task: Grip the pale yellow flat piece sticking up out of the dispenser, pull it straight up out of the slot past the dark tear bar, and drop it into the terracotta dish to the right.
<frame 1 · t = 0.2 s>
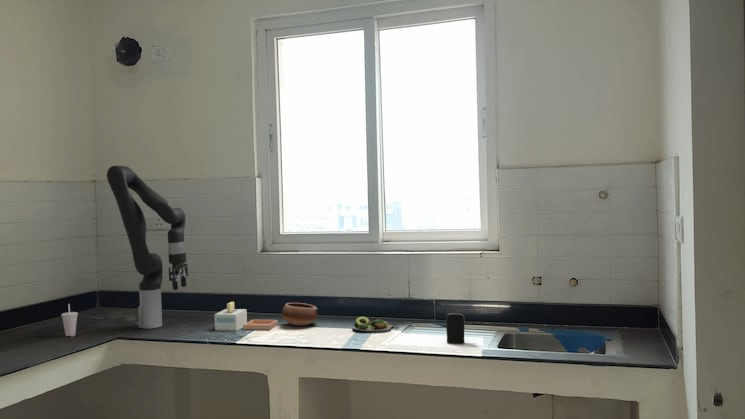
hand: (179, 288, 272), 18 cm above the counter, tool pointing down, fingers open, 8 cm apart
dish: (260, 327, 268), on the counter
bowl: (300, 325, 270), on the counter
pale yellow flat piece: (231, 322, 269), point 2 cm above the counter, touching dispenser
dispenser: (231, 327, 270), on the counter
battery: (455, 343, 233), on the counter
smoothie: (70, 336, 261), on the counter
salad plate: (371, 329, 261), on the counter
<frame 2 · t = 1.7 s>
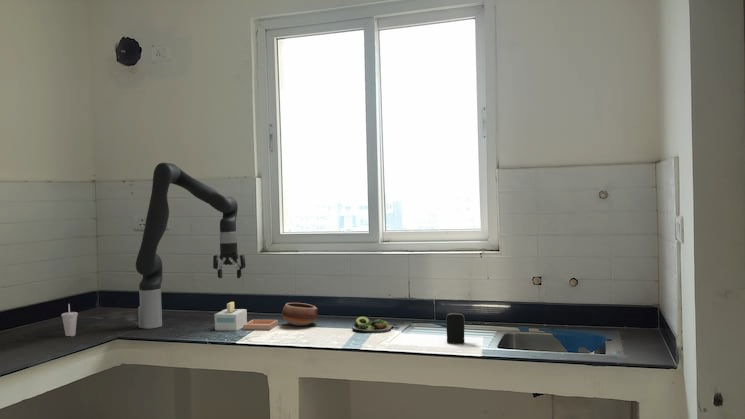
hand: (229, 278, 269), 22 cm above the counter, tool pointing down, fingers open, 8 cm apart
nothing on the counter moved.
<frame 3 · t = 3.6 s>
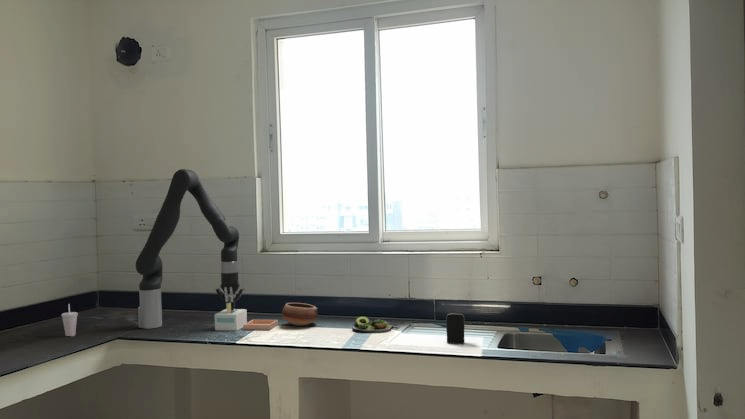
hand: (230, 309, 269), 8 cm above the counter, tool pointing down, fingers closed on pale yellow flat piece, 1 cm apart
pale yellow flat piece: (230, 322, 269), point 2 cm above the counter, touching gripper
everything else where it was.
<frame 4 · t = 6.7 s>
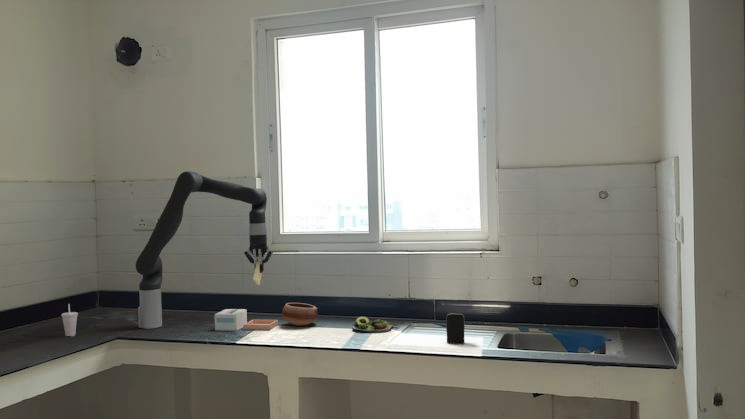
hand: (259, 272, 268), 24 cm above the counter, tool pointing down, fingers closed on pale yellow flat piece, 1 cm apart
pale yellow flat piece: (256, 282, 264), point 21 cm above the counter, tilted 36°, touching gripper
everything else where it was.
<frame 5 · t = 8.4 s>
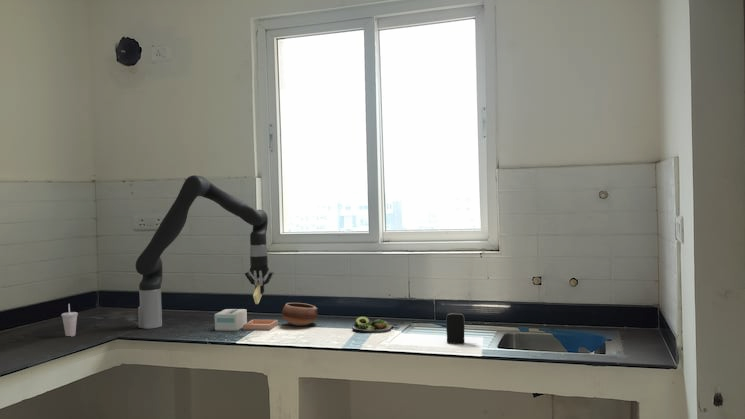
hand: (260, 293, 268), 15 cm above the counter, tool pointing down, fingers closed on pale yellow flat piece, 1 cm apart
pale yellow flat piece: (255, 299, 263), point 13 cm above the counter, tilted 57°, touching gripper
everything else where it was.
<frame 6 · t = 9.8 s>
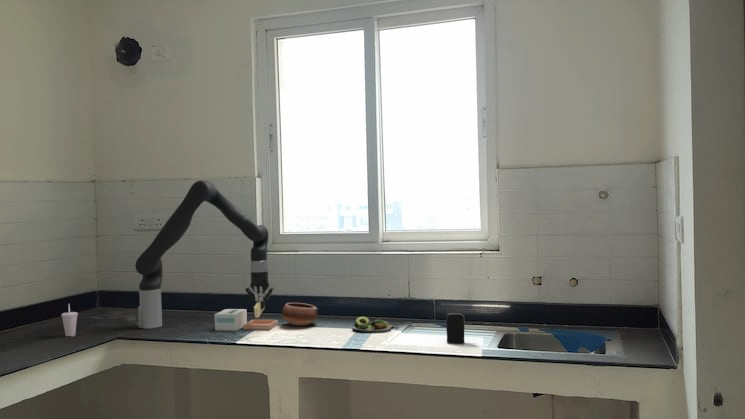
hand: (260, 309, 268), 8 cm above the counter, tool pointing down, fingers closed on pale yellow flat piece, 1 cm apart
pale yellow flat piece: (255, 312, 263), point 8 cm above the counter, tilted 72°, touching gripper
everything else where it was.
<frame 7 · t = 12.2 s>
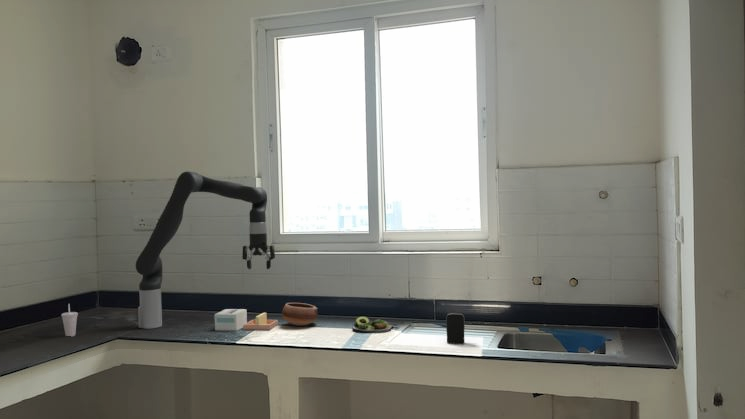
hand: (259, 269, 268), 26 cm above the counter, tool pointing down, fingers open, 8 cm apart
pale yellow flat piece: (257, 322, 264), point 3 cm above the counter, tilted 90°, touching dish
everything else where it was.
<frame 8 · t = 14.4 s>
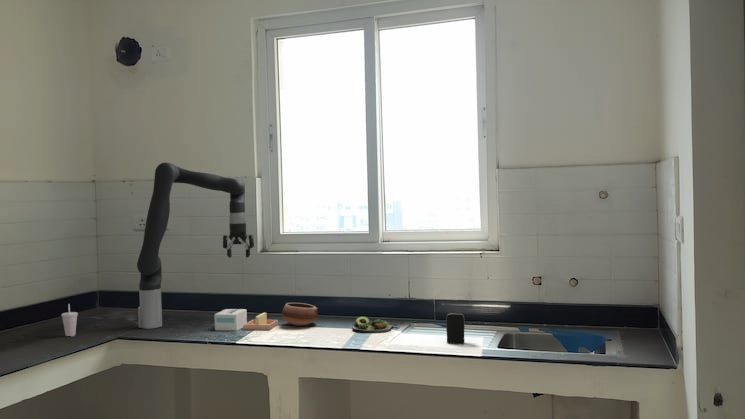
hand: (238, 257, 280), 30 cm above the counter, tool pointing down, fingers open, 8 cm apart
nothing on the counter moved.
at the end: pale yellow flat piece inside the target area on the dish (4.4 cm from its centre), point 3.1 cm above the dish's base; pale yellow flat piece touching dish; the gripper is holding nothing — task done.
